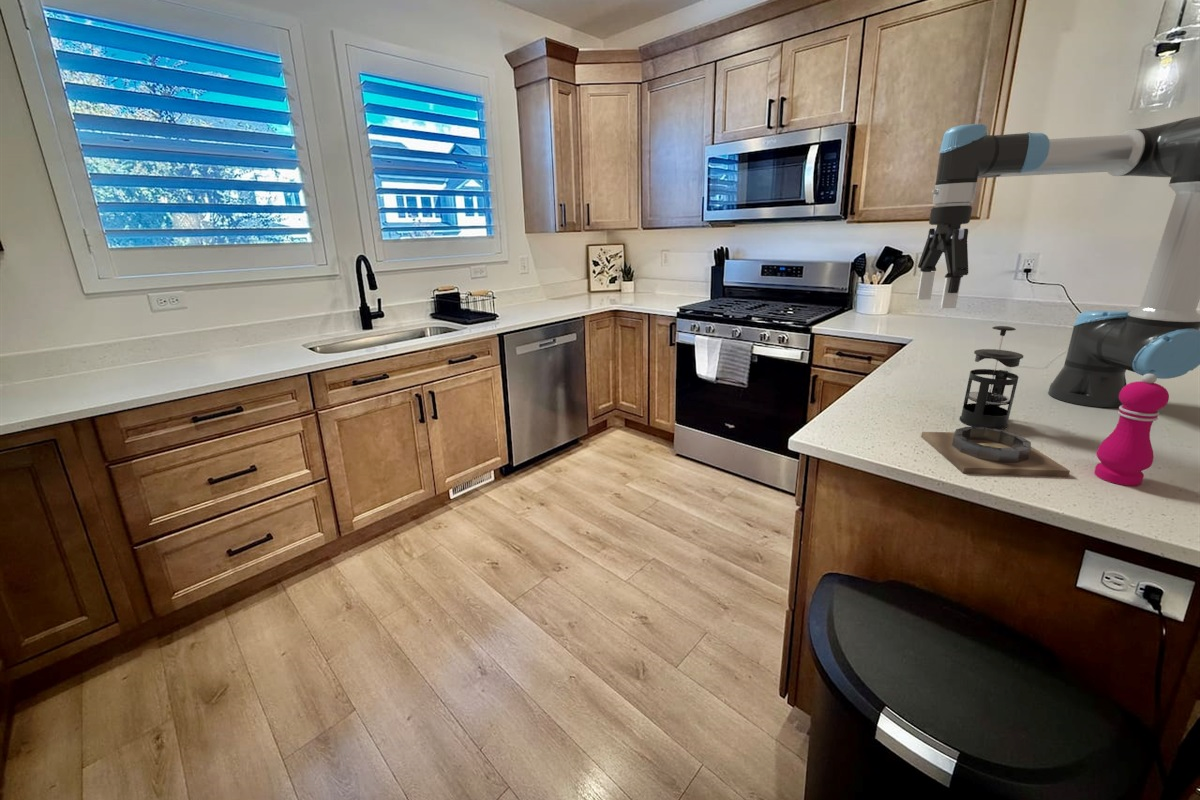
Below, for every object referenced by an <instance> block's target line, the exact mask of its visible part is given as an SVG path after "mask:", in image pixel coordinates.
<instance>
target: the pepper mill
mask: <svg viewBox="0 0 1200 800" xmlns="http://www.w3.org/2000/svg"><path fill="white" fill-rule="evenodd" d="M1157 380H1158V378H1157V377H1156V376H1155V375H1154V374H1145V375H1144V376H1141V381H1133V382H1128V383H1126V385H1125V386H1124V387H1123V388H1122V389H1121V391H1120V393H1119V400H1120V401H1121V403H1122V404H1123V405H1122V406H1120V407H1118V411H1117V414H1118V415H1119V419H1118V421H1117V424H1116V427H1115V428H1114V429H1113V430H1112V431H1111V433H1110V434H1109V435H1108V436H1107V437H1106V438H1105V439H1103V441H1102V442H1101V443H1100V444H1099V446H1098V448H1097V450H1096V458H1097V459H1098V461H1100V462H1098V463H1097V464H1096V466H1095V469H1094V472H1093V473H1094V475H1095V476H1096V477H1097V478H1099V479H1101V480H1102V481H1105V482H1108V483H1111V482H1112V484H1116V485H1121V486H1128V487H1134V486H1135V487H1136V486H1139V485H1140V486H1141V484H1142V482H1143V479H1144V476H1145V474H1144V473H1143V471H1145V470H1147V469H1149V468H1151V467H1152V465H1153V463H1154V462H1153V461H1154V450H1153V446H1152V441H1151V434H1150V433H1151V428H1152V425H1153V424H1154V422H1155V421H1157V420H1158V419H1159V416H1160V411H1159V410H1161V409H1162V408H1164V407H1166V406H1167V404H1168V403H1169V399H1170V394H1169V391H1168V390H1167V388H1166V387H1164V386H1163V385H1161V384H1158V383H1156V381H1157Z"/></svg>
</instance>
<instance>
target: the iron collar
mask: <svg viewBox="0 0 1200 800" xmlns="http://www.w3.org/2000/svg"><path fill="white" fill-rule="evenodd" d="M954 432H955V434H954V438H953V443H952V446H953V447H955V448H956V449H957V450H958V451H960V452H962V453H964V454H967V455H970V456H972V457H975V458H978V459H983V460H988V461H993V462H1002V463H1018V462H1022V461H1025V460H1028V458H1029V454H1030V450H1031V447H1032V441H1030V440H1028V439H1026V438H1025V437H1023V436H1021V435H1019V434H1016V433H1013V432H1010V431H1007V430H1005V429H1003V430H998V429H992V428H986V427H972V426H965V427H960V428H956V429H955V431H954ZM969 440H986V441H991V442H997V443H1001V444H1003V445H1006V446H1009V447H1012V448H996V447H990V446H985V445H981V444H978V443H975V442H972V441H969Z"/></svg>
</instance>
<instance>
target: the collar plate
mask: <svg viewBox="0 0 1200 800" xmlns="http://www.w3.org/2000/svg"><path fill="white" fill-rule="evenodd" d="M954 434H955V431H954V432H953V431H952V432H951V431H949V432H948V431H947V432H946V431H945V432H944V431H922V432H921V434H920V435H921V436H920V437H921V438H922V439H923V440H924V441H926V442H927V443H928V444H929V445H930V446H931V447H932V448H934V450H936V451H937V452H938V453H939V454H941V456H942V457H944V458H945V459H946V460H947V461H948V462H950V463H951V464H952V465H953V467H955V468H956V469H958V470H959V471H960V472H961V473H962V474H974V475H976V474H977V475H978V474H979V475H981V474H982V475H1004V476H1007V475H1008V476H1009V475H1010V476H1013V475H1015V476H1037V477H1038V476H1043V477H1069V476H1070V473H1071V470H1070V469H1068V468H1066V467H1065V466H1063V465H1062V464H1060V463H1058V462H1057V461H1056V460H1054V459H1052V458H1051V457H1049V456H1047V455H1046V454H1044V453H1043V452H1040V450H1038V449H1036V448H1035V447H1034V446H1031V450H1030V454H1029V458H1028V460H1025V461H1022V462H1018V463H1002V462H993V461H988V460H983V459H978V458H975V457H972V456H970V455H967V454H964V453H962V452H960V451H958V450H957V449H956V448H955V447H953V446H952V443H953V438H954ZM969 441H972V442H975V443H978V444H981V445H985V446H990V447H996V448H1012V447H1009V446H1006V445H1003V444H1001V443H997V442H991V441H986V440H969Z"/></svg>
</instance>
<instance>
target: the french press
mask: <svg viewBox="0 0 1200 800" xmlns="http://www.w3.org/2000/svg"><path fill="white" fill-rule="evenodd" d="M992 329H993V330H997V331H1000V333H999V336H1001V337H1000V341H999V345H998V349H996V348H995V349H994V348H993V349H992V348H991V349H990V348H987V349H985V348H981V349H975V350H974V352H973V354H975V358H974V361H975V363H978V362H980V361H983V360H984V359H986V360H987V359H992V360H995V363H994V367H993V369H992V368H991V369H989V368H988V369H986V368H980V369H978V368H977V369H972V370H969V371H970V372H969V375H968V376H969V377H968V381H967V387H966V390H965V396H964V401H963V406H962V410H961V415H960V416H959V417H958V418H959V421H960V422H961V423H963V424H965V425H966V426H968V427H986V428H992V429H998V430H1006V429H1007V428H1008V427H1009V419H1010V416H1011V415H1010V414H1011V410H1012V406H1013V403H1014V397H1015V393H1016V389H1017V385H1018V381H1019V376H1018V375H1017V374H1016V373H1013V372H1010V371H1008V370H1003V369H997V366H998V362H1000V364H1002V365H1004V366H1005V367H1006V368H1016V367H1018V366H1020V361H1021V359H1022V360H1023V359H1024V355H1023V354H1022V353H1019V352H1015V351H1011V350H1007V349H1006V350H1005V349H1002V345H1003V339H1004V337H1005V336H1006V334H1007V332H1009V331H1011V332H1012V331H1016V328H1015V327H1012V326H1005V325H998V326H996V325H995V326H993V327H992ZM979 375H980V376H979ZM981 375H986V376H987V375H988V376H992V377H991V378H990V377H985V376H984V377H983V376H981ZM973 381H974V382H977V383H979V384H980V385H979V388H978V391H971V388H972V387H971V386H972V382H973ZM1006 386H1012V390H1011V393H1010V397H1008V396H1006V395H1004V393H1005V387H1006ZM969 400H970V401H971V402H973V403H968V402H969ZM974 402H975V403H974ZM1006 405H1007V409H1006V408H1005V407H1004V408H1003V407H1001V406H1006Z"/></svg>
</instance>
